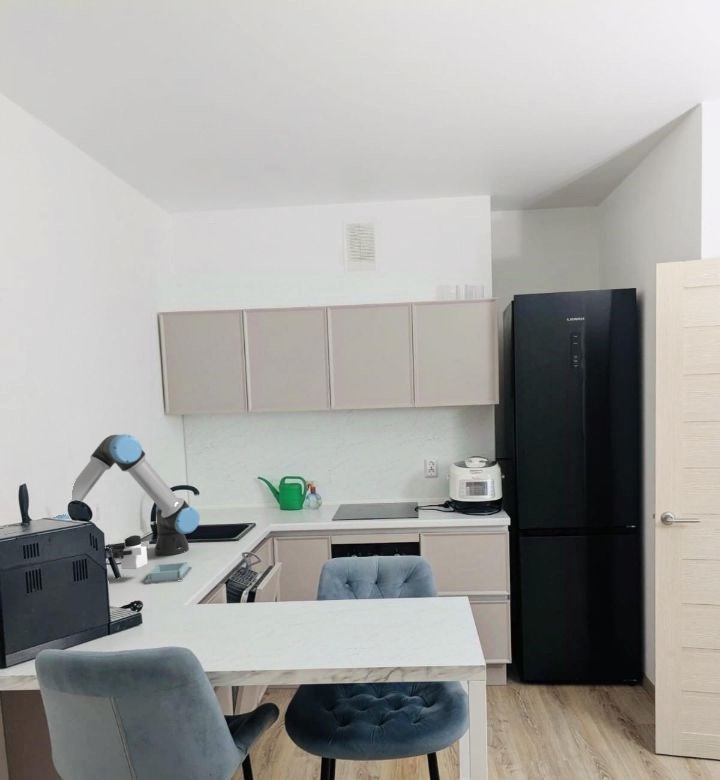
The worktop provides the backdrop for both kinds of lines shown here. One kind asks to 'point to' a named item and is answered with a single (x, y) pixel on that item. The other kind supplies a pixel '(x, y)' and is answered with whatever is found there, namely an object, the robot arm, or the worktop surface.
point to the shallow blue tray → (168, 572)
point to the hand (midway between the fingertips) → (145, 547)
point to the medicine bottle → (134, 560)
